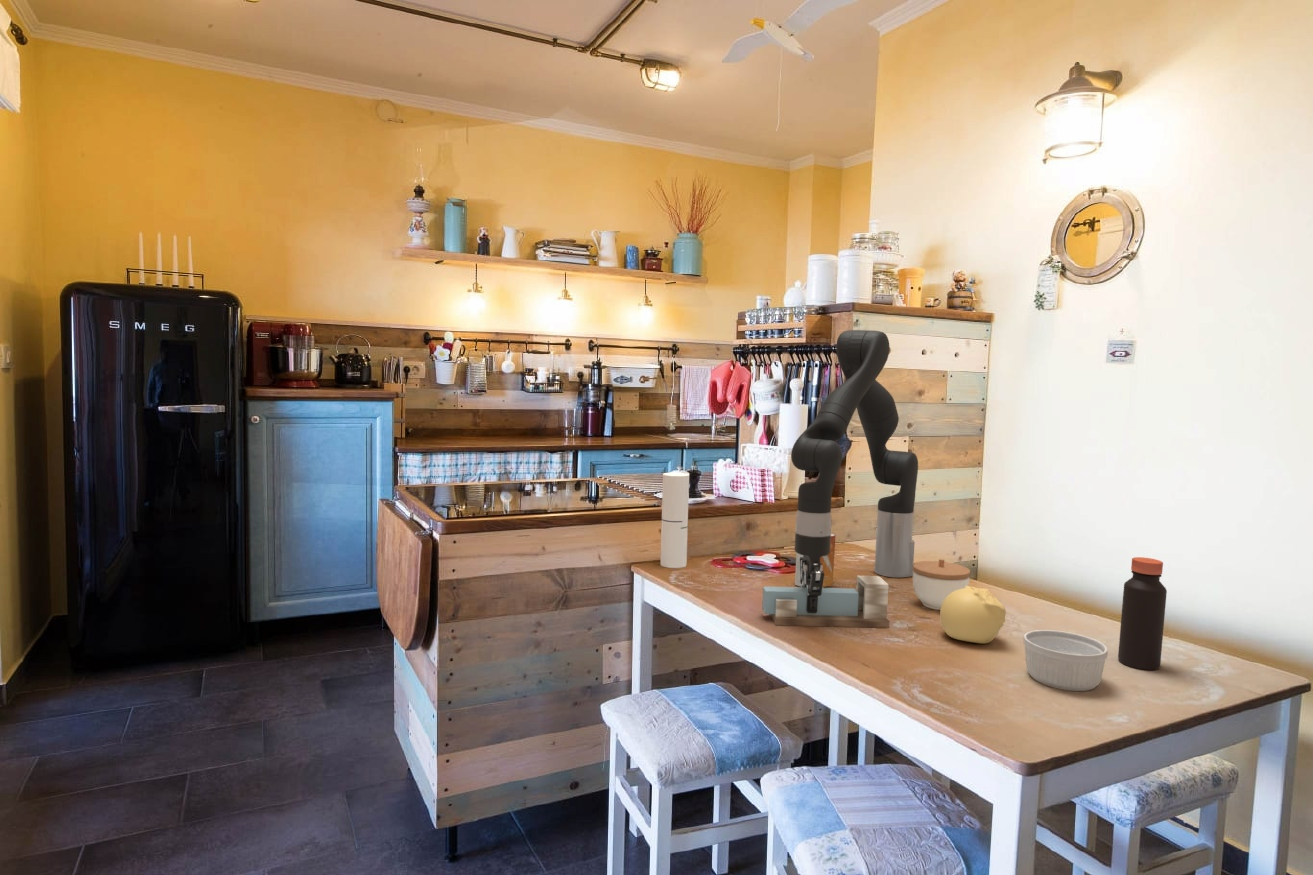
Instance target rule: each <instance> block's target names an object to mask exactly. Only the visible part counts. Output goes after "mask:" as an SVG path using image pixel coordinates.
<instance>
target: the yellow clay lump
mask: <svg viewBox="0 0 1313 875" xmlns="http://www.w3.org/2000/svg"><path fill="white" fill-rule="evenodd" d="M1006 615H1007V611H1006V608H1005V605H1004V604H1003V603H1001V602H1000V600H999V599H998V598H997V597H996V596H994V594H992V593H991V592H990V591H989V589H987V588H983V587H975V586H970V585H969V586H967V585H966V586H965V588H963V589H958V590H955V591H953V592H951V593H950V594H949V595H948V596H947V597H946V598H945V599H944V601H943V603H942V605H941V609H940V610H939V617H940V618H939V619H940V624H941V626H942V628H943V631H944V632H945V634H946V635H947V636H949V637H951V638H952V639H955V640H958V641H962V642H963V641H964V642H969V643H976V644H989V643H990V642H992V641H993V640H994V639H995V638H997V636H998V634H999V632H1000V630H1001V629H1002V628H1003V627H1004V623H1005V621H1006V620H1005V618H1006Z"/></svg>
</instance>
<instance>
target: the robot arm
mask: <svg viewBox="0 0 1313 875" xmlns="http://www.w3.org/2000/svg"><path fill="white" fill-rule="evenodd" d="M835 348H836V349H835V350H836V357H837V361H838V364H839V367H840V369H841V371H842V373H843V375H844V377H845V381H844V382H843V383H841V384H840V385H838V387H836V388H834V389H833V390H832V391H831V392H830V393H829V394H828V395H827V396H826V398H824V400H823V402H822V404H821V406H820V408H819V410H818V413H817V414H816V417H815V418H814V420H813V421H812V422H811V423H810V424H809V426H807V427H806V429H805V430H804V431H803V432H802V433H801V434H800V435H799V436H798V437H797V439H796V440H795V442H794V444H793V446H792V449H791V454H790V455H791V456H790V458H791V461H792V465H793V466H794V467H795V468H796V469H797V470H800V471H805V472H812V473H818V476H817V479H816V480H815V481H810V482H809V481H808V482H804V483H801V484H799V487H798V491H797V510H796V517H795V529H794V531H795V532H794V552H795V553H798V554H801V555H803V557H800V559H799V560H800V582H801V584H802V587H806V588H807V592H806V594H807V606H806V611H807V612H808V613H817V605H818V596H821V594H822V586H823V580H824V571H822V570H823V565H822V563H821V562H820V557H822V556H827V555H828V554H829V553H830V543H831V534H832V494H833V489H834V486H835V482H836V480H837V476H838V473H839V470H840V467H841V464H842V461H843V453H842V452H843V451H842V449H841V446H840V445H839V443H838V442H836V441H838V440H841V439H842V438H843V437H844V436H845V434H846V431H847V429H848V427H849V425H850V423H851V420H852V419H853V415H854V413H855V411H857V415H858V417H859V418H858V419H859V421H860V423H861V427H862V429H863V433H864V435H865V439H866V442H867V446H868V449H869V455H870V461H871V466H872V471H873V476H874V478H875V479H876V481H877V482H878V483H880V484H883V485H888V486H890V485H891V486H896V487H900V488H899V491H898V492H897V493H895V494H893V495H889V496H888V495H887V496H885V497H884V496H883V497H881V498H879V500H878V502H877V516H876V519H877V520H876V537H875V552H874V554H875V555H874V573H876V574H877V575H878V576H884V577H887V578H888V577H889V578H907V577H913V564H914V558H915V540H913V532H914V531H913V530H914V529H913V528H914V512H915V501H916V490H917V482H918V481H917V480H918V473H919V472H918V471H919V461H918V456H917V455H916V453H915V452H911V451H905V450H904V451H901V450H900V451H899V450H890V449H888V448H887V442H888V441H889V440H890V438H891V437H892V436H893V434H894V433H895V431H896V429H897V428H898V425H899V418H900V417H899V413H898V409H897V405H896V402H895V400H894V397H893V395H892V394H891V393H890V392H889V391H888V390H887V389H886V387H884V386H883V384H881V383H880V382H879V381H878V380H876V379H877V378H878V377H879V375H880V374H881V372H882V371H883V368H884V367H885V366H886V364H887V361H888V358H889V356H890V355H889V354H890V341H889V338H888V335H887V334H886V333H885V332H883V331H880V330H869V329H868V330H867V329H866V330H865V329H862V330H861V329H850V330H848V329H847V330H844V331H842V333H839V335H838V338H837V340H836V346H835ZM814 587H816V590H813V588H814Z"/></svg>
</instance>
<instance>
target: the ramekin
mask: <svg viewBox="0 0 1313 875" xmlns="http://www.w3.org/2000/svg"><path fill="white" fill-rule="evenodd" d="M1022 641H1023V645H1024V654H1025V664H1026V665H1025V666H1026V670H1027V672H1028V674H1029V675H1030V676H1031V678H1033V680H1035V681H1037V682H1039V683H1041V684H1043V685H1046V686H1049V687H1052V688H1056V689H1059V690H1060V689H1061V690H1064V691H1075V692H1086V691H1091V690H1093V689H1095V688H1096V687H1098V686H1099V685H1100V683H1101V681H1102V678H1103V672H1104V667H1105V662H1106V660H1107V658H1108V653H1109V652H1108V647H1107V646H1106V645H1105V644H1104V643H1103V642H1102V641H1099V640H1097V639H1095V638H1092V637H1089V636H1087V635H1083V634H1079V633H1074V632H1069V631H1062V630H1056V629H1037V630H1035V629H1034V630H1030V631H1028V632H1026V633H1024V635H1023V640H1022Z"/></svg>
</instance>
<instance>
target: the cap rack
mask: <svg viewBox="0 0 1313 875" xmlns="http://www.w3.org/2000/svg"><path fill="white" fill-rule="evenodd" d="M889 586H890V585H889V583H887V582H886V581H885V580H884V579H883V578H882V577H881V576H880V575H857V576H856V589H855V590H856V591H857V592H858V593H859V598H858V616H829V615H796V613H797V600H792V599H776V612H775V614H769V615H770V617H771V618H772V621H773V623H774V625H775V626H789V627H790V626H795V627H796V626H798V627H802V626H803V627H832V626H834V627H835V628H836V627H837V628H844V627H845V628H879V629H880V628H882V629H883V628H884V629H889V628H890V620H889V619H888V601H889V600H888V599H889ZM834 627H833V628H834Z"/></svg>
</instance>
